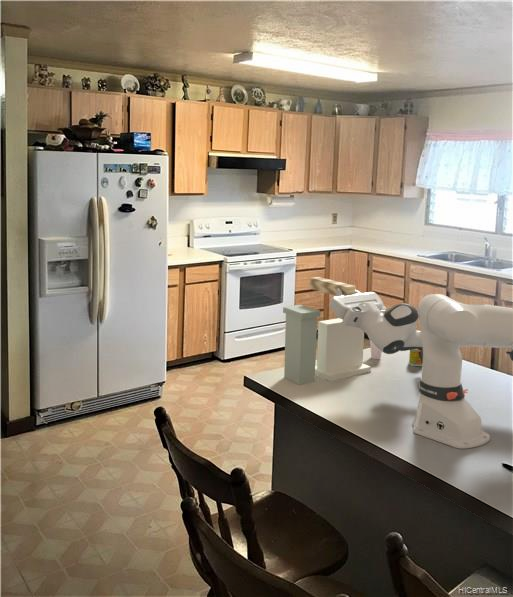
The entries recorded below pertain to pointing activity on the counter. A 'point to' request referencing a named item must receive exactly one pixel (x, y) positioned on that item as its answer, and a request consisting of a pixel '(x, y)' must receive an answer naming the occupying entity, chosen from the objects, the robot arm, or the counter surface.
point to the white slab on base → (339, 350)
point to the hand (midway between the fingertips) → (343, 289)
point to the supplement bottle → (414, 358)
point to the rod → (331, 286)
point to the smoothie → (375, 351)
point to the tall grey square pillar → (300, 343)
